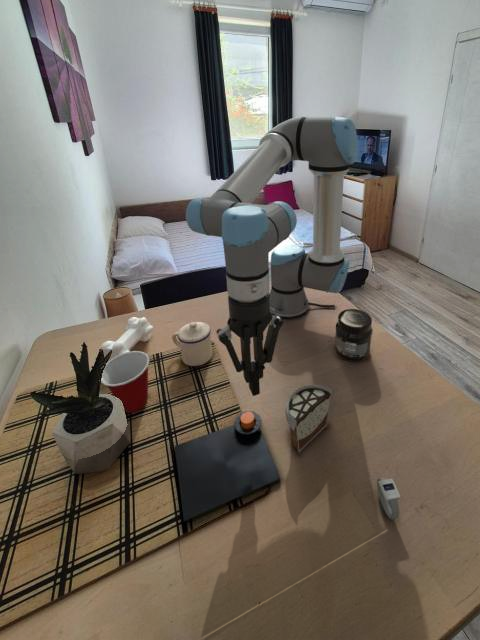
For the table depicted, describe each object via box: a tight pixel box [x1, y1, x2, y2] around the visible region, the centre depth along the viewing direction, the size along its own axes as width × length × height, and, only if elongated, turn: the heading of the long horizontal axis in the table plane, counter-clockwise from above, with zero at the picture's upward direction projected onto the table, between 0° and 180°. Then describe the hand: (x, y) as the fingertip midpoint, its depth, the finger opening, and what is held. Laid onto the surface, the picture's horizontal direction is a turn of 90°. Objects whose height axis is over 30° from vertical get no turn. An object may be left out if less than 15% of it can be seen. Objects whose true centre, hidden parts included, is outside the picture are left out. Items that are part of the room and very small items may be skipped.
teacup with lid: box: [171, 321, 213, 367], centre depth 93 cm, size 12×9×12 cm
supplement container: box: [333, 308, 374, 362], centre depth 95 cm, size 10×10×12 cm
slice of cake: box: [284, 384, 334, 453], centre depth 71 cm, size 12×6×10 cm, turn 134°
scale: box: [174, 410, 282, 526], centre depth 66 cm, size 18×16×3 cm
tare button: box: [241, 411, 255, 429], centre depth 71 cm, size 3×3×2 cm
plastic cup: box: [100, 350, 150, 414], centre depth 77 cm, size 11×11×12 cm
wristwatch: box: [376, 476, 402, 520], centre depth 58 cm, size 6×3×5 cm, turn 9°
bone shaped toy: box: [100, 316, 154, 361], centre depth 95 cm, size 15×9×8 cm, turn 170°
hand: (254, 390), depth 68 cm, fingers closed
